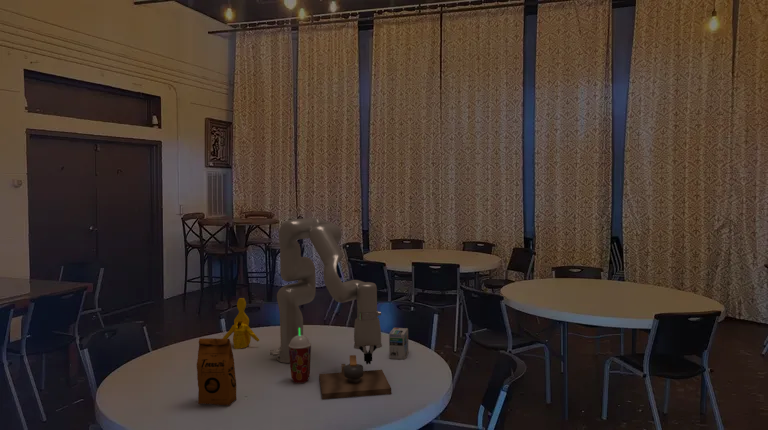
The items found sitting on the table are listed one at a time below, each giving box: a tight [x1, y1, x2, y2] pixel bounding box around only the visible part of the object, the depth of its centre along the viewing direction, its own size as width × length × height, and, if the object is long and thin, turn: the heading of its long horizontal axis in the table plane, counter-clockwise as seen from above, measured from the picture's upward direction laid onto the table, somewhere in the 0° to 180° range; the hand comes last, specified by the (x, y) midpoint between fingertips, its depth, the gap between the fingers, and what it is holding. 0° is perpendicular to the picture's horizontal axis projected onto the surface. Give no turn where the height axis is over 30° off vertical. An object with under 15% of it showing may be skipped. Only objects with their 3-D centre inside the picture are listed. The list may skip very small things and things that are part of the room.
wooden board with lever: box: [318, 363, 392, 400], centre depth 199 cm, size 24×21×5 cm
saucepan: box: [344, 354, 364, 379], centre depth 203 cm, size 16×7×4 cm, turn 5°
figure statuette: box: [221, 297, 260, 350], centre depth 250 cm, size 18×8×22 cm, turn 89°
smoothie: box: [288, 328, 312, 384], centre depth 205 cm, size 8×8×20 cm
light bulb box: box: [388, 327, 409, 360], centre depth 234 cm, size 11×7×11 cm, turn 168°
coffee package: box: [196, 337, 237, 406], centre depth 185 cm, size 10×12×22 cm
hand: (368, 363), depth 208 cm, fingers closed
